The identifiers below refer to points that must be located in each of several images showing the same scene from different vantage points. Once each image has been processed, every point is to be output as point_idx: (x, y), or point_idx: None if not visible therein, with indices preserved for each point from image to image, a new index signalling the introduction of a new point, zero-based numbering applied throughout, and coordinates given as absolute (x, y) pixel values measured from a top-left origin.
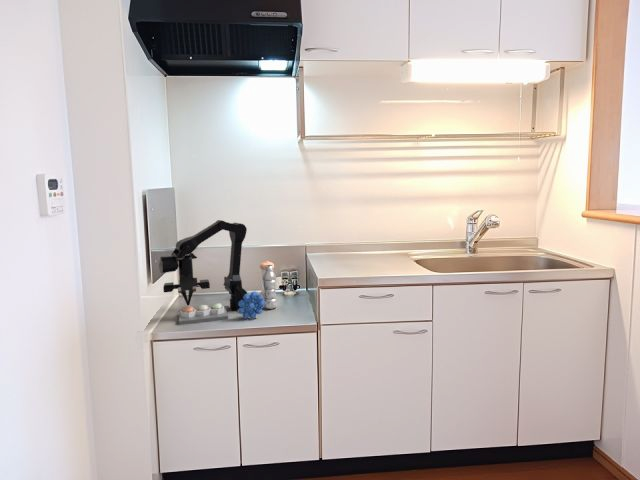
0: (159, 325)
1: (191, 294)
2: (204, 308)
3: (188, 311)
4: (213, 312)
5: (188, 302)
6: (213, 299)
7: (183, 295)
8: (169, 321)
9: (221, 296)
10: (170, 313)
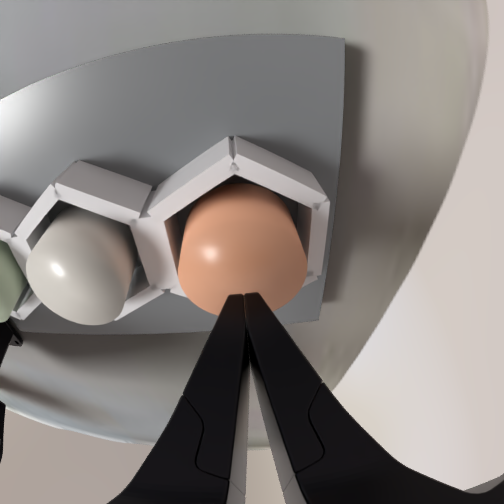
0: (468, 112)
1: (156, 474)
2: (43, 236)
3: (237, 202)
4: (1, 208)
5: (238, 326)
6: (153, 422)
7: (363, 449)
8: (401, 177)
9: (133, 431)
10: (359, 327)
